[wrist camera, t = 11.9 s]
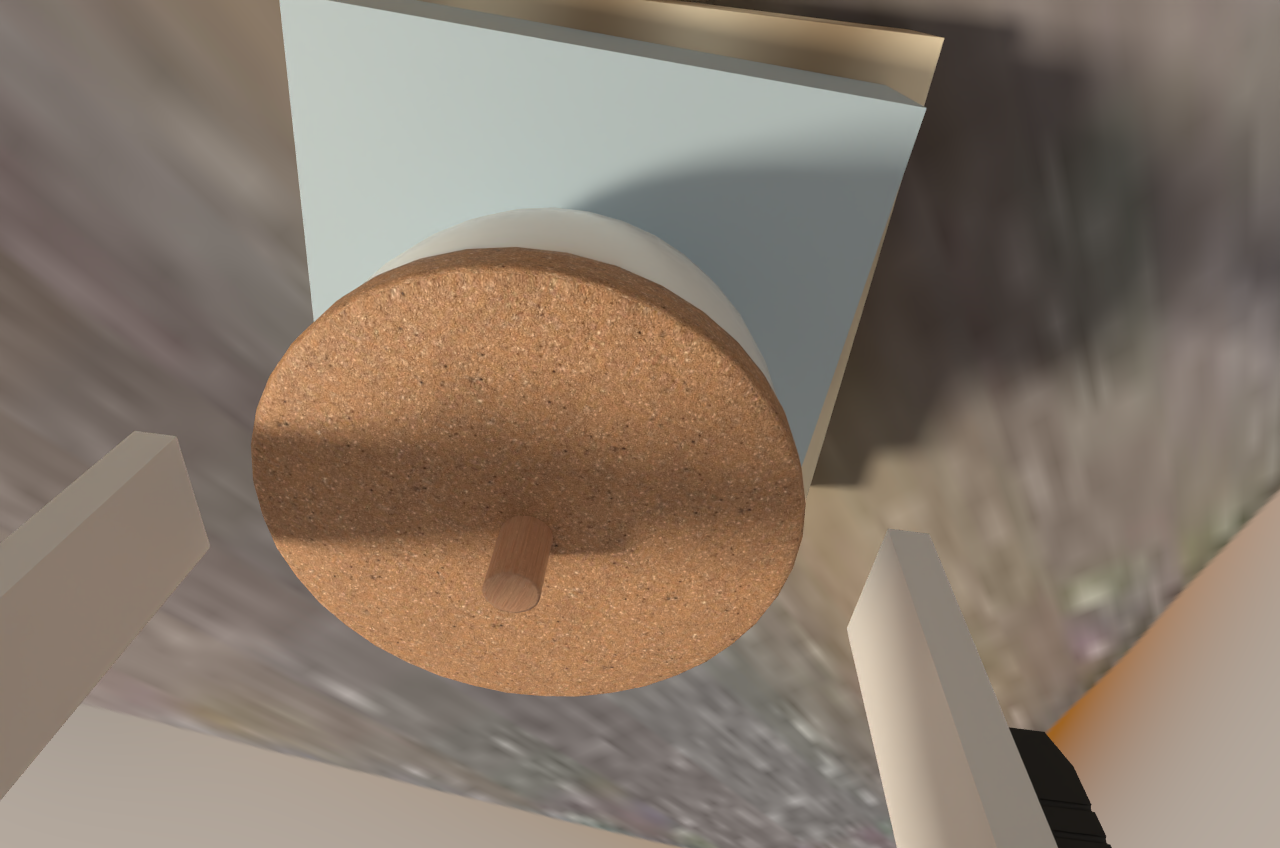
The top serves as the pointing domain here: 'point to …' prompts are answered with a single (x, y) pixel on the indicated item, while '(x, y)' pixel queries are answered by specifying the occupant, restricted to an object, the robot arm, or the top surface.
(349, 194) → the tower top
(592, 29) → the tower base
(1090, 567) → the top surface
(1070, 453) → the top surface
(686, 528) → the lidded jar
